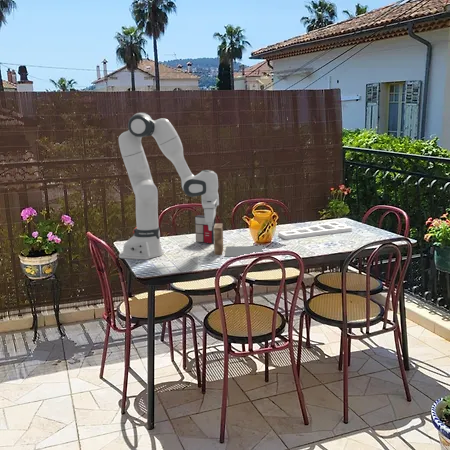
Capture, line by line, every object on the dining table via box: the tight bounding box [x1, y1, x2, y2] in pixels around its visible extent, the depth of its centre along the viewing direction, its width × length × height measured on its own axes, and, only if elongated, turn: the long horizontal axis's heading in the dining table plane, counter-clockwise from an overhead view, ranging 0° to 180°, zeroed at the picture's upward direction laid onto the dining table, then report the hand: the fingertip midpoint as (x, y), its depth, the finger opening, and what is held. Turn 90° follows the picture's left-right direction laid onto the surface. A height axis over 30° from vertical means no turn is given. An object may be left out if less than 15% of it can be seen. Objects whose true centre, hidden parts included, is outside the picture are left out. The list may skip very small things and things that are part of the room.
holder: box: [277, 221, 353, 240], centre depth 284 cm, size 45×18×3 cm, turn 110°
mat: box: [224, 245, 266, 258], centre depth 246 cm, size 21×18×1 cm
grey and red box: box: [194, 214, 216, 245], centre depth 264 cm, size 11×4×15 cm, turn 62°
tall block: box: [213, 222, 224, 256], centre depth 245 cm, size 4×11×14 cm, turn 177°
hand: (211, 228), depth 244 cm, fingers open, 8 cm apart
